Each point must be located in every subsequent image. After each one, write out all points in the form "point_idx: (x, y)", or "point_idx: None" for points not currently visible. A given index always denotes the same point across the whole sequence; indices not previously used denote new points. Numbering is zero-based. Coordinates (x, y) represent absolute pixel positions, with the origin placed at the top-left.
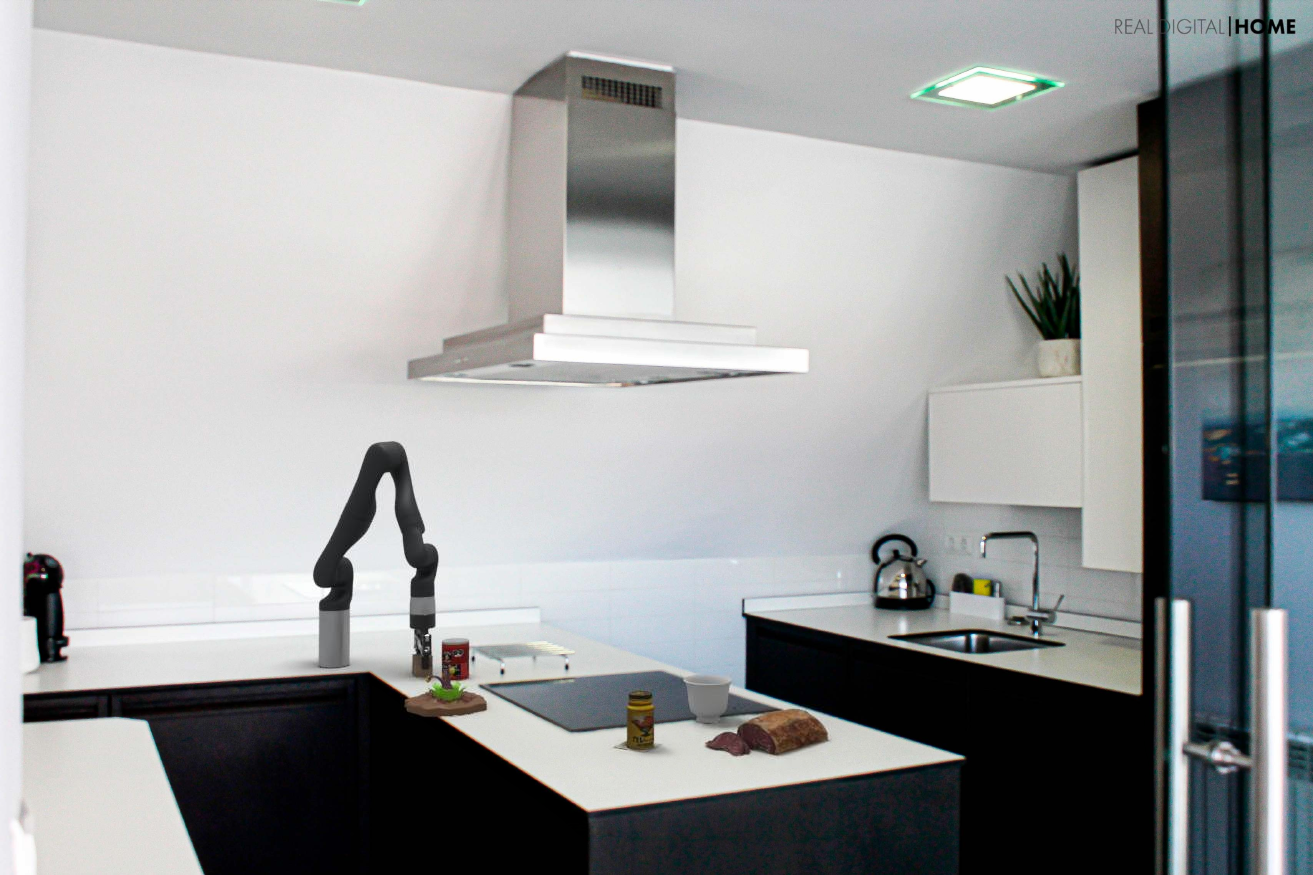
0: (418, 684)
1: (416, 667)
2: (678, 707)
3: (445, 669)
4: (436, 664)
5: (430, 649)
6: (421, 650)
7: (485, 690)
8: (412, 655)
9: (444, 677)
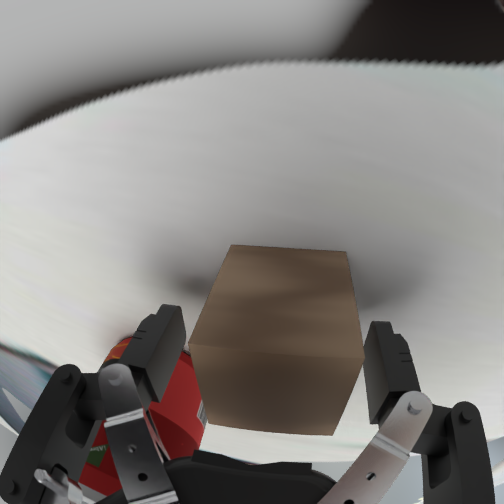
0: (51, 216)
1: (215, 287)
2: (6, 414)
3: (102, 368)
4: (479, 379)
5: (67, 425)
6: (108, 406)
7: (13, 346)
8: (355, 347)
9: (124, 341)
